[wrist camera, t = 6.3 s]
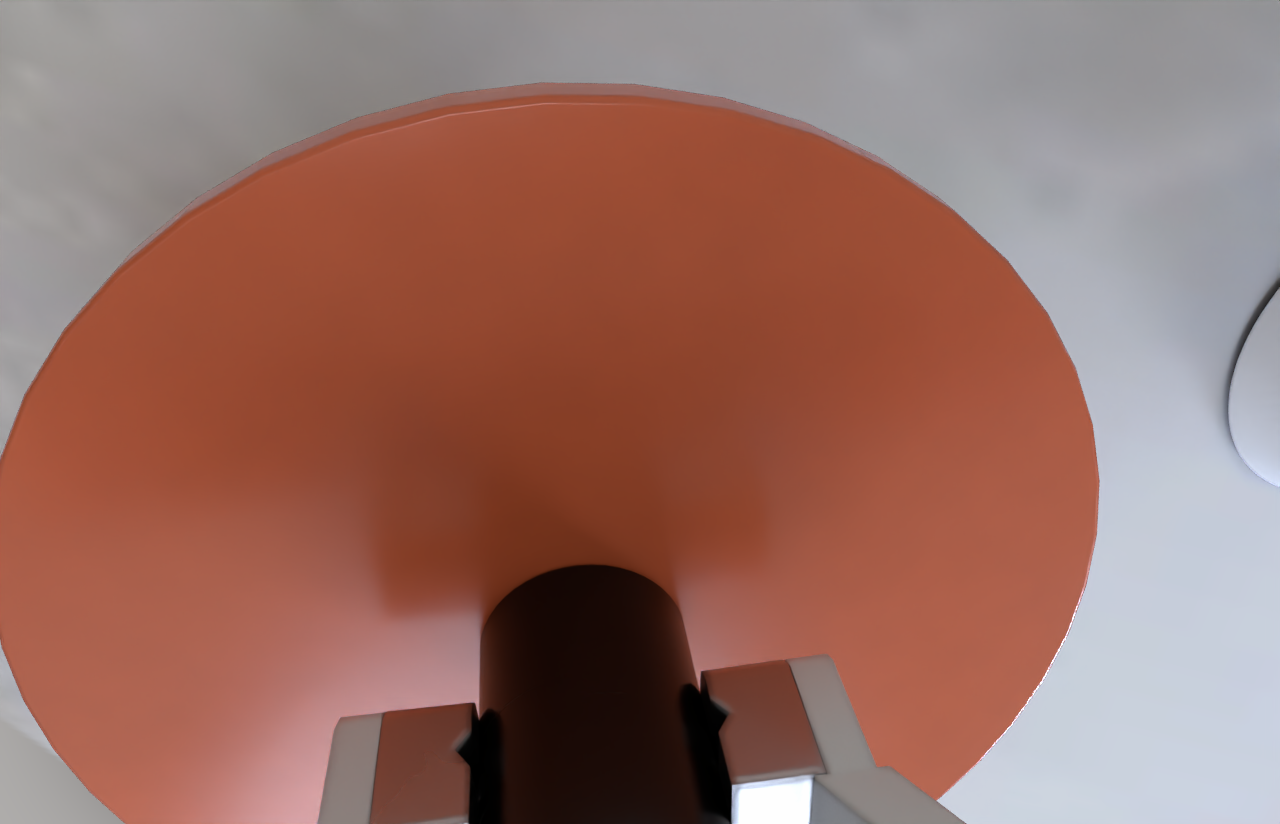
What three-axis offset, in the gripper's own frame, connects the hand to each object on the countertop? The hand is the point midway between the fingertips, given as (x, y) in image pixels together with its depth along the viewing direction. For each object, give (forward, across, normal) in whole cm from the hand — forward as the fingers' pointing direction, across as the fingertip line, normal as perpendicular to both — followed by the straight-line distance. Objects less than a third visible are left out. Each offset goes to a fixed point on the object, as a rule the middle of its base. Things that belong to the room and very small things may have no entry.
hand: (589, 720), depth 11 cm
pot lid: (+2, 0, 0) cm, 2 cm away
